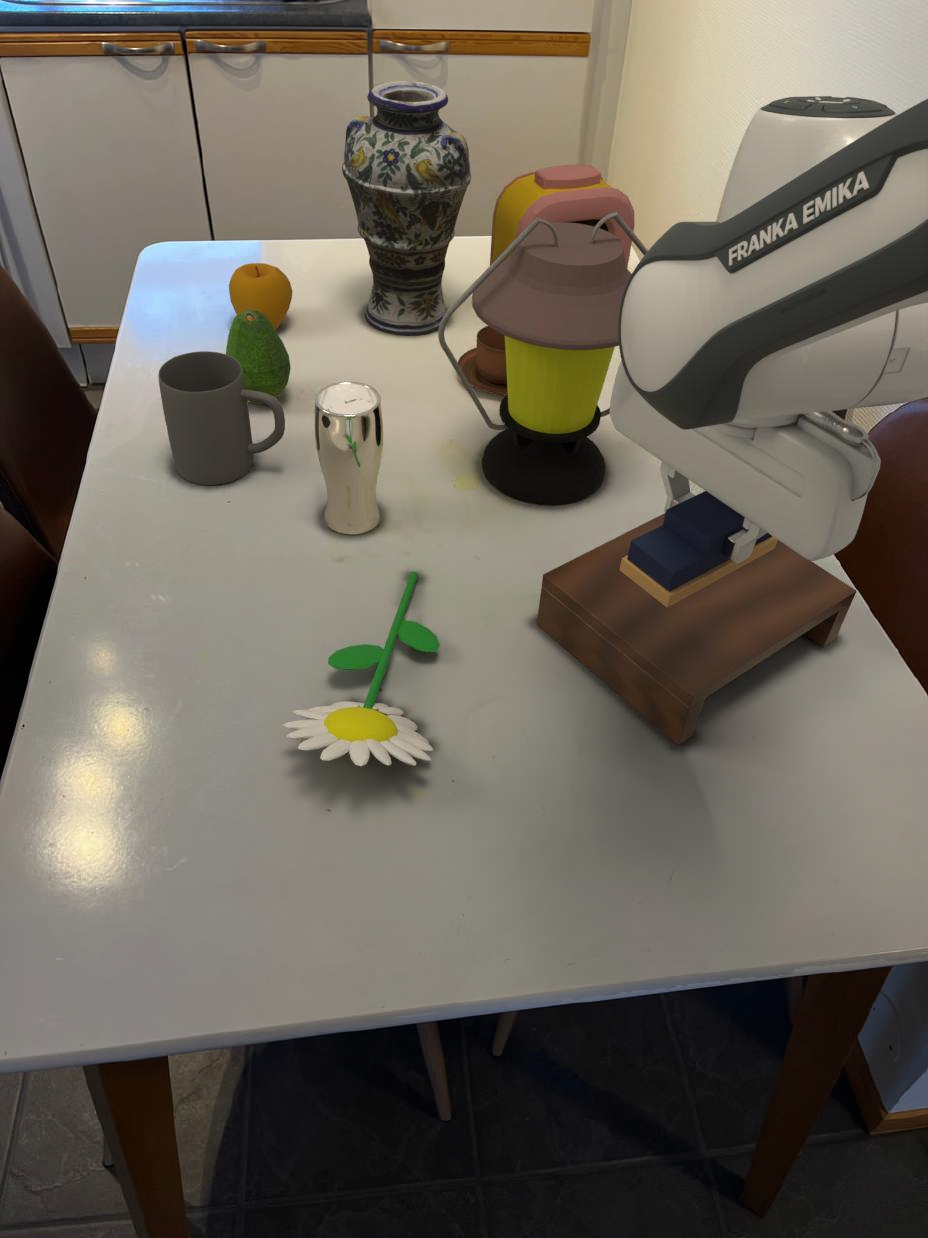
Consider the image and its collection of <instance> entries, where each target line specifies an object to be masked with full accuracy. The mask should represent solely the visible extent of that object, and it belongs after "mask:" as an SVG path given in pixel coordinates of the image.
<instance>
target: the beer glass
mask: <svg viewBox="0 0 928 1238" xmlns="http://www.w3.org/2000/svg"><path fill="white" fill-rule="evenodd" d="M381 400H382V399H381V394H380V393H379V391H378V390H377V389H376V388H374V387H373V386H370V385H368V384H366V383H362V382H357V381H338V382H334V383H333V382H332V383H329V384H328V385H325V386H323V387H322V388H320V389H319V390H318V391H317V392H316V394H315V395H314V440H315V441H314V442H315V449H316V454H317V458H318V462H319V465H320V469H321V473H322V476H323V480H324V484H325V490H326V504H325V510H324V521H325V523H326V525H327V526H328V528H329V529H331V530H333V531H334V532H337V533H338V534H342V535H348V536H349V535H351V536H353V535H355V536H356V535H361V534H365V533H368V532H370V531H372V530H374V529H375V528H376V527H377V526H378V525H379V523H380V521H381V513H380V508H379V504H378V500H377V483H378V478H379V473H380V467H381V462H382V457H383V456H382V455H383V449H384V422H383V412H382V403H381V402H382V401H381Z"/></svg>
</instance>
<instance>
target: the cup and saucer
mask: <svg viewBox="0 0 928 1238" xmlns="http://www.w3.org/2000/svg"><path fill="white" fill-rule="evenodd" d="M457 363H458V364H459V366H460V368H461V370H462V371H463V373H464V375H465V377H466V378H467V380H468V382H469V384H470V385H471V387H472V388H475V389H477V390H479V391H482V392H486V393H490V394H494V395H495V394H496V395H506V394H508V389H507V369H506V349H505V335H503V334H501V333H499V332H497V331H495V330H493V329H492V328H491V327H489V326H488V325H486V326H484V327H482V328H481V329H479V330H478V332H477V333H476V347H473V348H471V349H469V350H467V351H466V352H464V353H463V354H462V355H460V357H459V358H458V361H457Z"/></svg>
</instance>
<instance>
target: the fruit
mask: <svg viewBox="0 0 928 1238" xmlns="http://www.w3.org/2000/svg"><path fill="white" fill-rule="evenodd" d="M225 350H226V351H225V354H226V355H229V356H231V357H233V358H234V359H236V360H237V361H238V362H239V363H240V365H241V367H242V370H243V375H244V381H245V387H246V390H252V391H258V392H263V393H266V394H269V395H272V396H274V397H275V398H276V399H278V397H280V396H281V395H282V394H283V392H284V391H285V389H286V387H287V385H288V383H289V379H290V374H291V369H292V368H291V361H290V355H289V353H288V351H287V348H286V346H285V344H284V341H283V340H282V339H281V337H280V336H279V334H278V332H277V329H274V327H273V326H272V324H271V323H270V321H269V319H268V318H267V317H266V316H264V315H263V314H262V313H261V312H259V311H257V310H246V311H244V312H241V313H239V314H235V316H234V318H233V319H232V322H231V325H230V327H229V332H228V336H227V342H226V348H225ZM247 402H248V403H250V404H251V403H252V404H255V405H258V404H265V403H264V402H260V401H254V400H247Z"/></svg>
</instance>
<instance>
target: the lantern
mask: <svg viewBox="0 0 928 1238" xmlns="http://www.w3.org/2000/svg"><path fill="white" fill-rule="evenodd" d="M611 218H614V219H615V220H616V221H617V223H618V224H619V225H620V226H621V228H622V229H623V230H624V231H625V233H626V234H627V235H628V236H629V237H630V239H631V240H632V243H633V244H634V245H635V246H636V247H637V249H638V250H639V251H640V252H641V254H642V255H643V256H644V255H645V254H646V253H647V252H648V250H649V249H648V248H647V247H646V246H645V245H644V243H643V242H642V241H641V239H639V237H638V236H637V235H636V234H635V232H633V231H632V230H631V229H630V228H629V226H628V225H627V224H626V223H625V221H624V220H623V219H622V218H621V216H620V215H619V214H618V213H617V212H615V213H611V214H609V215H607V216H605V217H604V218H602V219H601V220H600V221H599V222H598V223H597V224H596V226H595V227H593V226H589V225H584V224H578V223H566V222H556V223H549V222H548V221H546V220H543V219H540V218H536V219H535V220H534V221H533V222H532V223H531V224H530V225H529V226H528V227H527V228H526V229H525V230H524V231H523V232H522V233H521V234H520V235H519V236H518V237H517V238H516V239H515V240H514V241H513V242H512V244H511V245H510V246H509V247H508V248H507V249H506V250H505V251H504V252H503V253H502V254H501V255H500V256H499V257H498V258H497V259H496V260H495V261H494V262H493V263H492V264H491V265H490V264H489V266H488V267H487V268H486V269H485V270H484V272H483V273H482V274H481V275H479V276H478V278H477V279H476V280H475V281H474V282H473V283H472V284H471V285H470V286H469V287H468V288H467V289H466V290H465V291H464V292H463V294H461V295H460V297H458V299H456V301H455V302H454V303H453V304H451V306H450V307H449V308H447V309H446V311H447V312H446V313H445V314H444V316H443V318H442V320H441V322H440V325H439V330H437V331H438V332H437V336H438V342H439V343H438V344H439V345H440V347H441V349H442V351H443V352H444V354H445V355H446V357H447V359H448V360H449V362H450V364H451V366H452V367H453V369H454V371H455V373H456V374H457V376H458V377H459V379H460V381H461V383H462V384H463V386H464V388H465V389H466V391H467V393H468V395H469V397H470V398H471V400H472V401H473V403H474V405H475V407H476V409H477V411H478V412H479V413H480V415H481V417H482V419H483V420H484V422H485V424H486V425H487V427H488V428H489V429H491V430H494V431H500V432H498V433H497V434H496V435H494V436H493V437H492V438H491V439H490V441H489V442H488V443H487V444H486V446H485V447H484V451H483V454H482V456H481V468H482V469H481V470H482V472H483V474H484V475H483V476H484V477H485V479H486V480H487V481H488V483H489V484H490V485H491V486H492V487H493V488H494V489H495V490H497V491H498V492H500V493H502V494H503V495H505V496H507V497H508V498H512V499H513V500H516V501H519V502H523V503H527V504H531V505H539V506H562V505H563V506H565V505H569V504H574V503H577V502H580V501H583V500H585V499H587V498H589V497H591V496H592V495H594V494H595V493H596V492H597V491H598V490H599V489H600V488H601V486H602V484H603V482H604V480H605V478H606V472H607V471H606V470H607V468H606V467H607V465H606V461H605V457H604V455H603V453H602V452H601V450H600V448H599V447H598V445H597V444H596V443H595V441H593V440H592V439H591V438H589V436H592V435H593V434H594V433H595V432H596V431H597V430H598V428H599V427H600V424H601V418H604V417H606V416H609V415H610V406H609V407H608V408H607V409H605V410H603V411H601V408H600V406H599V405H598V404H599V400H600V397H601V393H602V390H603V388H604V383H605V381H606V377H607V375H608V371H609V368H610V364H611V361H612V358H613V355H614V351H615V348H616V347H619V338H618V323H619V313H620V306H621V301H622V297H623V293H624V290H625V287H626V285H627V282H628V280H629V278H630V276H631V274H632V272H631V271H630V270H629V269H628V268H627V266H626V261H625V254H624V247H623V244H622V242H621V241H620V240H619V239H618V238H617V237H616V236H615V235H613V234H611V233H609V232H607V231H605V230H603V229H600V226H601V225H602V224H603V223H605V222H606V221H607V220H609V219H611ZM539 223H543V224H540V225H538V224H539ZM513 250H514V251H513ZM512 251H513V253H512V255H511V257H510V258H508V259H507V260H506V261H504V260H505V259H506V258H507V257H508V255H509V254H510V253H511V252H512ZM503 261H504V262H503ZM502 262H503V263H502ZM470 296H471V306H472V308H473V310H474V313H475V314H476V316H477V317H478V318H479V320H481V321H482V323H484V324H485V325H486V326H489V327H491V328H492V329H493V330H495V331H497V332H499V333H501V334H503V335H505V349H506V369H507V389H508V394H504V396H503V398H501V400H500V403H499V411H498V412H499V417H500V420H501V422H502V423H503V424H496V423H493V422H492V420H491V418H490V417H489V415H488V413H487V411H486V410H485V407H484V406H483V404H482V403H481V401H480V399H479V397H478V395H477V394H476V392H475V390H474V389H473V386H472V385H470V384H469V382H468V380H467V378H466V377H465V375H464V373H463V371H462V370H461V368H460V366H459V364H458V361H457V359H456V357H455V356H454V354H453V352H452V350H451V349H450V347H449V346H448V345H447V342H446V338H445V328H446V326H447V323H448V321H449V319H450V318H451V316H452V315H453V314H454V313H455V312H456V311H457V310H458V309H459V308H460V306H462V304H464V303H465V301H466V300H467V299H469V297H470Z"/></svg>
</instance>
